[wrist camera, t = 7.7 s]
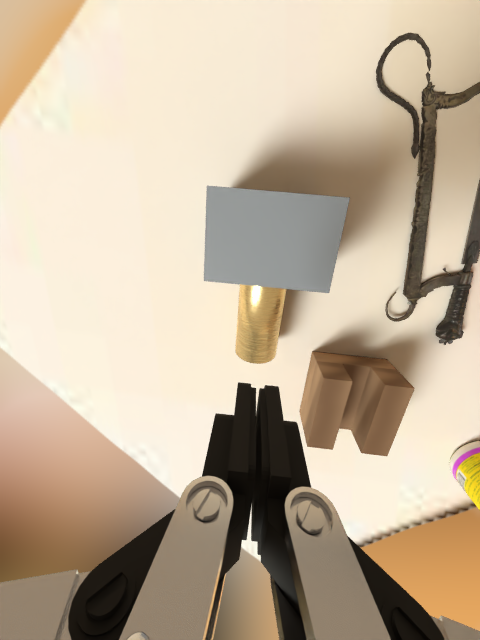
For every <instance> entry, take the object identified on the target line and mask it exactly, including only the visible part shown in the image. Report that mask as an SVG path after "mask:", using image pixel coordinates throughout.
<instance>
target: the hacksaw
mask: <svg viewBox="0 0 480 640" xmlns="http://www.w3.org/2000/svg"><path fill="white" fill-rule="evenodd" d="M407 39H409V40H416V41H417V42H418V43H419V44H421V46H422V48H423V49H424V50H425V54H426V56H427V57H428V59H427V66H428V68H429V71H430V68H431V60H430V57H431V55H430V51H429V48H428V47H427V45H426V44H425V42H424V40H423V39H422V38H421V37H420V36H419V35H418V34H413V33H407V34H404V35H401V36H399V37H398V38H396V39H395V40H394V41H392V42H391V43H390V45H389V46H388V47H387V48H386V49H385V51H384V53H383V54H382V56H381V58H380V60H379V62H378V67H377V69H376V74H377V75H376V81H377V84H378V88H379V89H380V91H381V92H382V93H383V94H384V95H385V96H386V97H388V98H389V99H390V100H392V101H394V102H396V103H397V104H399V105H401V106H403V107H404V108H405V109H406V110H407V111H408V112H409V113H411V115H412V118H413V124H414V133H413V134H414V138H413V146H412V148H411V149H412V155H413V157H414V158H416V155H417V153H418V151H419V147H420V152H419V163H418V172H419V173H418V174H417V176H420V177H419V181H418V183H417V187H418V188H417V190H416V198H415V202H416V206H415V208H414V215H413V222H412V227H413V229H412V234H411V239H410V244H409V253H408V261H407V268H406V274H405V282H404V290H403V294H404V295H405V296H406V297H407V299H408V301H409V302H408V304H410V306H409V309H408V312H407V313H406V314H405V315H404V316H402V317H400V318H392V317H390V316H389V314H388V310H387V307H388V303H389V301H390V300H391V298H392V297H393V296H394V295H395V293H396V292H395V293H394V294H393V295H392V296H391V298H390V299H389V300H388V302H387V304H386V309H385V311H386V315H387V317H388V318H389V319H390V320H392V321H402V320H405V319H407V318H408V317H409V316H410V315H411V314H412V313H413V310H414V308H415V305H416V304H417V302H416V301H417V300H418V299H420V298H421V297H426V295H427V294H428V293H429V292H431V291H433V289H435V288H438V287H441V286H450V285H454V286H453V287H454V289H453V292H452V295H451V299H450V302H449V306H448V308H447V312H446V316H445V318H444V320H443V321H442V322H441V323H440V325H439V326H438V327H437V328H436V335H437V337H439V338H442V339H441V340H439V343H443V342H444V345H446V343H447V342H448V343H449V344H451V343H452V342H453V340H455V339H457V338H461V337H462V335H463V333H464V332H463V331H462V324H463V315H464V312H465V308H466V302H467V298H468V294H469V289H470V288H471V285H470V283H471V280H472V277H473V272H470V270H471V266H472V263H477V261H478V260H477V259H478V256H479V254H480V253H479V252H480V180H479V184H478V189H477V193H476V198H475V203H474V207H473V212H472V217H471V221H470V226H469V231H468V235H467V240H466V245H465V249H464V254H463V259H462V263H461V264H465V266H464V269H463V272H458V274H457V275H450V274H449V273H448V272H447V271H446V268H444V269H443V270H444V271H445V272H446V273H447V274H448V276H440V277H436V278H433V279H431V280H429V281H426V282H425V283H423V284H422V285H421V273H422V265H423V256H424V251H425V242H426V232H427V223H428V215H429V209H430V201H431V191H432V179H433V169H434V158H435V134H436V127H435V123H436V118H437V114H436V109H437V110H438V109H442V108H444V109H448V108H454V107H456V106H459V105H461V104H463V103H465V102H467V101H469V100H470V99H471V98H472V97H474V96H475V95H477V94H479V93H480V82H479V83H477V84H475V85H474V86H472V87H470V88H469V89H467V90H465V91H463V92H461V93H455V94H445V92H434V90H433V88H434V86H435V85H433V86H431V85H432V83H431V82H430V74H429V73H427V74H426V77H427V80H428V85H427V87H426V88H425V89H423V91H422V102H423V103H422V105H423V107H422V108H421V109H422V113H421V114H422V119H423V124H422V125H421V140H420V146H419V144H418V143H419V123H418V120H419V118H418V116H417V112H416V110H415V109H414V108H413V106H411V105H410V104H409V102H406V101H405V100H404V99H402V98H401V97H399V96H397V95H396V94H394V93H393V92H390V90H389V89H388V88H387V87H386V86H385V85H384V82H383V79H382V73H381V70H382V66H383V63H384V61H385V58H386V57H387V55H388V53H389V52H390V51H391V50H392V48H393V47H395V46H396V45H397V44H399V43H400V42H402V41H405V40H407Z"/></svg>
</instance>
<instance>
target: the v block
mask: <svg viewBox="0 0 480 640" xmlns="http://www.w3.org/2000/svg"><path fill="white" fill-rule="evenodd" d="M413 391H414V387H413V386H412V385H411V384H410V383H409V382H408V381H407V380H406V379H405V378H404V377H403V376H402V375H401V374H400V373H399V372H398V371H397V370H396V369H395V368H394V366H393V365H392V364H391V363H390V362H389V361H388V360H387V359H378V358H369V357H360V356H350V355H341V354H332V353H322V352H313V351H312V355H311V360H310V365H309V369H308V374H307V379H306V383H305V388H304V393H303V398H302V402H301V407H300V416H301V420H302V425H303V429H304V434H305V438H306V443H307V447H315V448H324V449H332V450H333V447H334V443H335V440H336V437H337V433H338V430H339V428H340V429H349V430H351V431H352V433H353V436H354V438H355V440H356V442H357V445H358V447H359V449H360V451H361V453H365V454H373V455H381V456H387V455H388V453H389V450H390V448H391V445H392V443H393V441H394V438H395V436H396V433H397V431H398V428H399V426H400V423H401V421H402V418H403V416H404V413H405V411H406V408H407V406H408V403H409V401H410V398H411V396H412V393H413Z"/></svg>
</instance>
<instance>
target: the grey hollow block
mask: <svg viewBox="0 0 480 640" xmlns="http://www.w3.org/2000/svg"><path fill="white" fill-rule="evenodd" d="M349 199H350V198H348V197H336V196H324V195H312V194H300V193H288V192H277V191H265V190H253V189H241V188H229V187H217V186H207V199H206V230H205V262H204V281H211V282H221V283H231V284H241V285H251V286H261V287H272V288H282V289H292V290H302V291H312V292H322V293H329V291H330V286H331V282H332V277H333V273H334V268H335V264H336V259H337V254H338V250H339V245H340V241H341V236H342V231H343V227H344V222H345V218H346V213H347V209H348V204H349Z"/></svg>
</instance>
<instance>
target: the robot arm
mask: <svg viewBox="0 0 480 640" xmlns="http://www.w3.org/2000/svg"><path fill="white" fill-rule="evenodd" d="M251 504H252V527H251V540H252V541H257V542H258V555H261V563H262V564H263V565H264V567H265V568H266V569H267V571H268V572H269V573H270V578H271V589H272V595H273V601H274V608H275V615H276V621H277V628H278V634H279V640H480V631H478V630H475V629H473V628H471V627H468V626H465V625H463V624H461V623H458V622H456V621H453V620H451V619H449V618H446V617H444V616H440V618H439V619H437V618H435V617H432V616H430V615H429V614H428V613H427V612H426V611H425V610H424V608H423V607H422V606H421V605H420V604H419V603H418V602H417V601H416V600H415V599H414V598H412V597H411V596H410V595H409V594H408V593H407V592H406V591H405V590H404V589H403V588H402V587H401V586H400V585H399V584H398V583H397V582H396V581H394V580H393V579H392V578H391V577H390V576H389V575H388V574H387V573H386V572H385V571H384V570H383V569H382V568H381V567H380V566H379V565H378V564H376V563H375V562H374V561H373V560H372V559H371V558H370V557H369V556H368V555H367V554H365V552H364V551H363V550H362V549H361V548H360V547H359V546H357V545H356V544H355V543H354V542H353V541H352V540H351V539H350V538H349V537H348V536H347V534H346V532H345V530H344V527H343V525H342V522H341V520H340V518H339V515H338V513H337V511H336V509H335V507H334V506H333V504H332V502H331V501H330V500H329V499H328V498H327V497H326V496H325V495H324V494H322V493H321V492H319V491H318V490H315V489H313V488H311V485H310V480H309V475H308V471H307V466H306V461H305V457H304V452H303V447H302V443H301V438H300V433H299V429H298V425H297V423H296V422H291V421H283V414H282V407H281V400H280V393H279V387H277V386H267V385H265V388H264V389H262V388H260V390H259V397H258V405H257V413H256V388H252V387H251V384H248V383H238V388H237V397H236V405H235V414H234V415H225V414H216V415H215V419H214V423H213V428H212V433H211V437H210V442H209V447H208V451H207V456H206V460H205V465H204V470H203V474H202V477H199V478H197V479H195V480H193V481H192V482H191V483H190V484H189V485H188V486H187V487H186V488H185V490H184V492H183V493H182V496H181V498H180V500H179V503H178V505H177V507H176V509H175V510H173V511H172V512H170V513H169V514H168V515H166V516H165V517H163V518H162V519H161V520H159V521H158V522H157V523H155V524H154V525H152V526H151V527H150V528H149V529H147V530H146V531H144V532H143V533H142V534H140V535H139V536H137V537H136V538H135V539H133V540H132V541H131V542H129V543H128V544H126V545H125V546H124V547H122V548H121V549H120V550H118V551H117V552H115V553H114V554H113V555H111V556H110V557H109V558H107V559H106V560H104V561H103V562H102V563H100V564H99V565H98V566H97V567H96V568H95V569H93V570H92V571H91V572H84V573H79V574H78V570H72V571H66V572H60V573H54V574H48V575H43V576H37V577H31V578H25V579H20V580H14V581H7V582H2V583H0V640H213V636H214V632H215V626H216V622H217V616H218V611H219V607H220V602H221V597H222V592H223V587H224V582H225V577H226V573H227V572H228V571H229V569H230V568H231V567H232V566H233V565H234V564H235V563H236V562H237V561H238V560H239V557H240V550H241V542H242V540H246V539H247V532H248V525H249V518H250V511H251Z"/></svg>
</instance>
